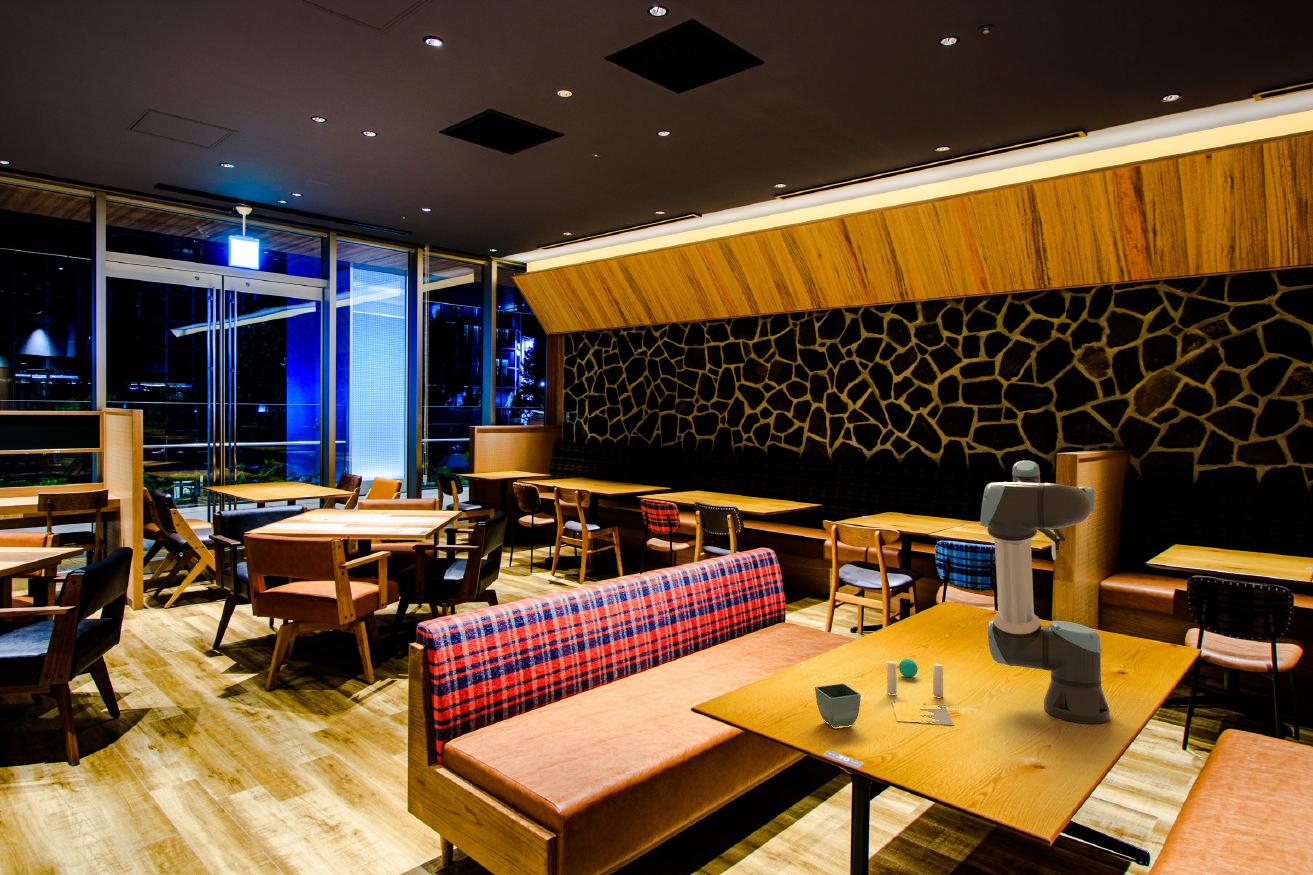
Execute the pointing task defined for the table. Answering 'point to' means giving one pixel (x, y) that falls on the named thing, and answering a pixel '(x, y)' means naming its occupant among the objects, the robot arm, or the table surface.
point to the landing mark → (939, 716)
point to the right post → (938, 680)
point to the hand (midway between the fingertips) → (1030, 557)
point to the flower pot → (838, 704)
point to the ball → (908, 668)
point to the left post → (891, 677)
